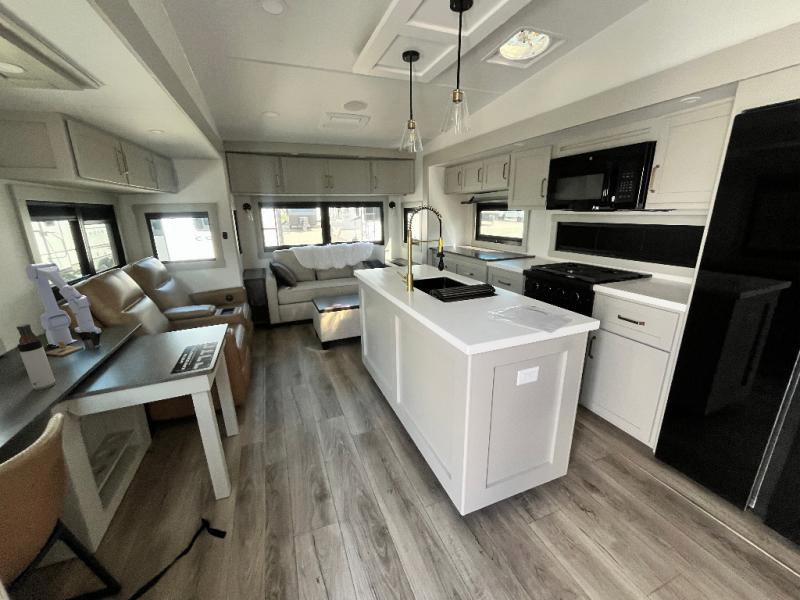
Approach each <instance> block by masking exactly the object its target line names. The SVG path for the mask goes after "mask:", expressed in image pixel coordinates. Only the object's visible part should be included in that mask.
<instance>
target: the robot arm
mask: <svg viewBox="0 0 800 600" xmlns="http://www.w3.org/2000/svg"><path fill="white" fill-rule="evenodd" d="M25 273H26V276H27V278H28V279H29V281H30V282H33V283H34V284H33V285H34V286H35V288H36V291H37V294H38V296H39V298H40V302H41V304H42V306H43V309H44V311H45V312H44V313H43V314H41V315H40V316H39V319H40V325H41V327H42V328H43V329H44V330H46V331H45V336H46V340H47V342H48V344H53V345H56V346H55V347H57V346H59V344H58V342H59V341H64V344H65V345H66V346H68V345H69V344H72V343H75V342H78V339H73V338H72V335H71V331H70V328H69V326H70V324H71V323H72V320H71V319H72V318H71V317H70V315H69V314H68V313H67V311H65V310H63V309H60V307H59V305H58V302H57V300H56V297H55V294H54V292H53V289H52V287H51V285H50V282H51V284H54V286H55V287H56V288H58V289H59V290H58V292H59V294H60V295H61V296H62V297H63V298H64V299H65V300H66V301H67V303H68V304H67V305H68V307H69V309H70V310H71V312H72V313H73V314H74V316H75V320H76V322H77V327H74V332H76V333H75V336H77V338H79V339H80V340H81V341H82V342H83V340H84V339H85V338H88V337H89V338H90V339H91V340H92V343H93V345H94V346H97V345H101V336H102V334H103V332H102V328H99V327H97V326H95V323H94V319H93V316H92V313H91V310H90V307H91V306H92V304H91V299H90V298H89V297H88V296H86V295H84V294H81V293H80V292H79V291H78V290H77V289H76V288H75V287H74V286H73V285H69V284H68V283H67V281H65V279H64V277H63V276H62V275H61V274H60V267H59V266H58V265H57V263H55V262H54V261H49V262H48V261H47V262H40V263H39V262H38V263H34V264H27V265H26V266H25ZM83 344H84V342H83Z"/></svg>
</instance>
